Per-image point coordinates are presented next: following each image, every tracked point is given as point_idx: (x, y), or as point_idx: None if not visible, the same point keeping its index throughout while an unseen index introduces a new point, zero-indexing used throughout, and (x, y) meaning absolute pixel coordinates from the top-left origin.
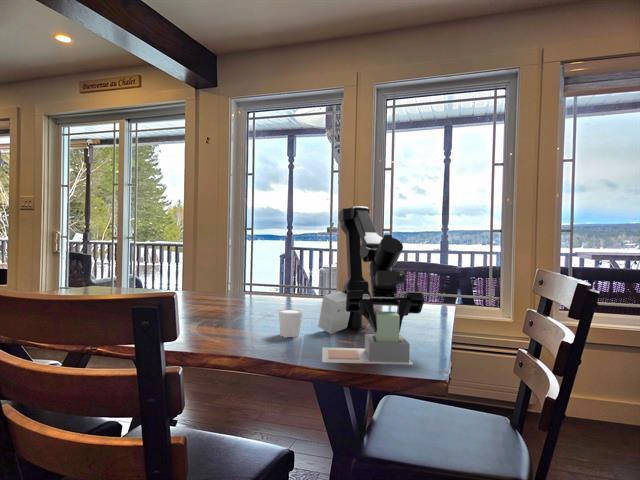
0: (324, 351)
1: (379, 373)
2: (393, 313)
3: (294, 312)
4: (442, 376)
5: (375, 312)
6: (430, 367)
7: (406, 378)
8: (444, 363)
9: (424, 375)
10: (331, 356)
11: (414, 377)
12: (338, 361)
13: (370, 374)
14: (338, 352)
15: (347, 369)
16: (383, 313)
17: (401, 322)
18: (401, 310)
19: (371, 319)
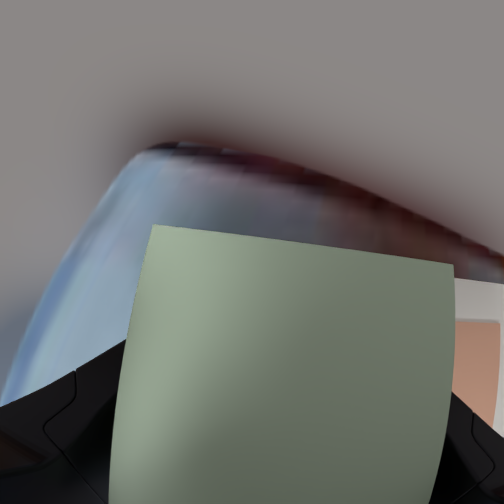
0: (501, 420)
1: (336, 211)
2: (178, 408)
3: None
4: (123, 176)
5: (429, 490)
6: (108, 265)
7: (252, 161)
8: (41, 306)
9: (176, 184)
10: (493, 344)
11: (220, 168)
12: (473, 292)
13: (368, 204)
14: (468, 406)
15: (438, 260)
16: (355, 406)
17: (124, 340)
18: (29, 426)
19: (452, 394)
